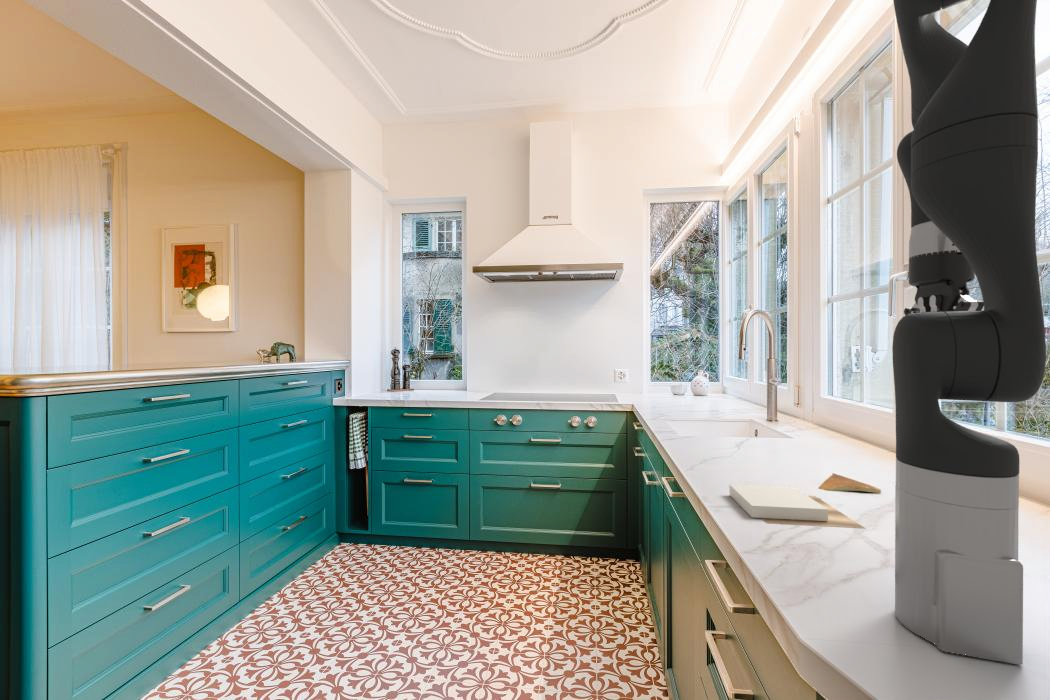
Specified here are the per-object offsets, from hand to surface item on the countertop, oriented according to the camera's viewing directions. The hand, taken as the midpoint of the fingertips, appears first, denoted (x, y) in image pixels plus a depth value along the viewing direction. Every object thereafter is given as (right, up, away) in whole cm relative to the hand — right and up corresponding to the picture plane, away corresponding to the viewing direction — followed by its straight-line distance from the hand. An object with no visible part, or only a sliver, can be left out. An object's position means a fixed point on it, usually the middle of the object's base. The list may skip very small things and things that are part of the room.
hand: (939, 364), depth 69 cm
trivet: (-16, -27, +12) cm, 33 cm away
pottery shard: (+3, -28, +24) cm, 36 cm away
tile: (-13, -25, +11) cm, 31 cm away
